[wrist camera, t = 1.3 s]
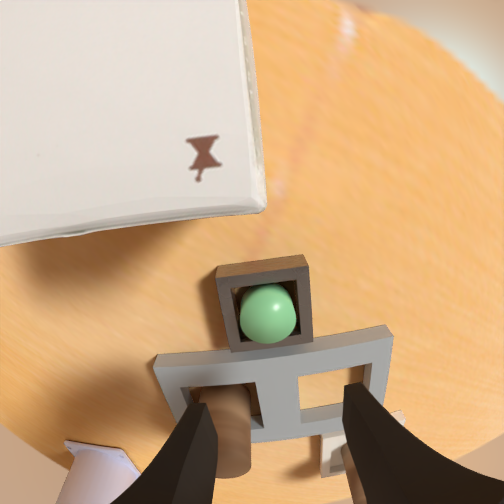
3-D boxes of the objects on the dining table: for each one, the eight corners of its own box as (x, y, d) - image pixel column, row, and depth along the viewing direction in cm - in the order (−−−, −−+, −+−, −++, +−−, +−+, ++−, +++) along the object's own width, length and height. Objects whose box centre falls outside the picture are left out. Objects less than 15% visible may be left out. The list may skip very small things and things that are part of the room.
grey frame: (374, 409, 23) (379, 421, 21) (190, 432, 23) (187, 445, 22) (385, 324, 20) (393, 336, 18) (157, 354, 20) (152, 367, 19)
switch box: (308, 326, 20) (313, 342, 18) (232, 336, 20) (230, 352, 18) (303, 254, 18) (308, 265, 16) (218, 265, 18) (214, 278, 17)
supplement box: (245, 43, 14) (239, -122, 2) (256, 171, 17) (276, 230, 5) (118, 65, 14) (-41, -7, 2) (128, 186, 17) (-42, 263, 5)
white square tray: (388, 453, 25) (391, 461, 24) (319, 469, 26) (321, 478, 25) (401, 410, 23) (405, 418, 22) (320, 429, 23) (322, 439, 22)
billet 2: (375, 451, 25) (392, 501, 18) (339, 460, 25) (351, 512, 19) (380, 430, 23) (401, 484, 17) (341, 439, 23) (356, 497, 17)
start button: (294, 323, 19) (297, 339, 17) (244, 329, 19) (244, 346, 17) (289, 278, 18) (293, 292, 16) (236, 285, 18) (235, 300, 16)
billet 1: (253, 409, 22) (254, 477, 16) (206, 413, 22) (197, 478, 16) (246, 375, 21) (245, 447, 15) (194, 379, 21) (181, 449, 15)
